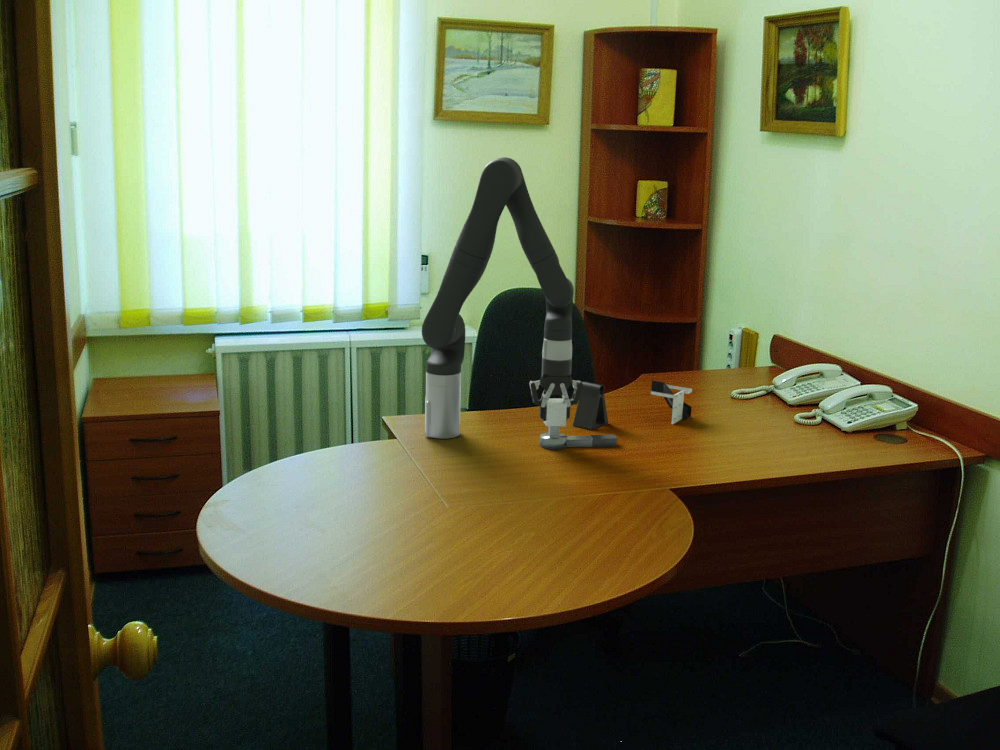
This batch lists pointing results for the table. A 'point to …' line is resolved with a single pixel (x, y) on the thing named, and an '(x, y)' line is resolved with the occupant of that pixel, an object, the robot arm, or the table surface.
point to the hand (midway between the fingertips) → (554, 419)
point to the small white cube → (555, 412)
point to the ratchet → (574, 440)
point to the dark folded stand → (591, 407)
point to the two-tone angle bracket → (673, 399)
